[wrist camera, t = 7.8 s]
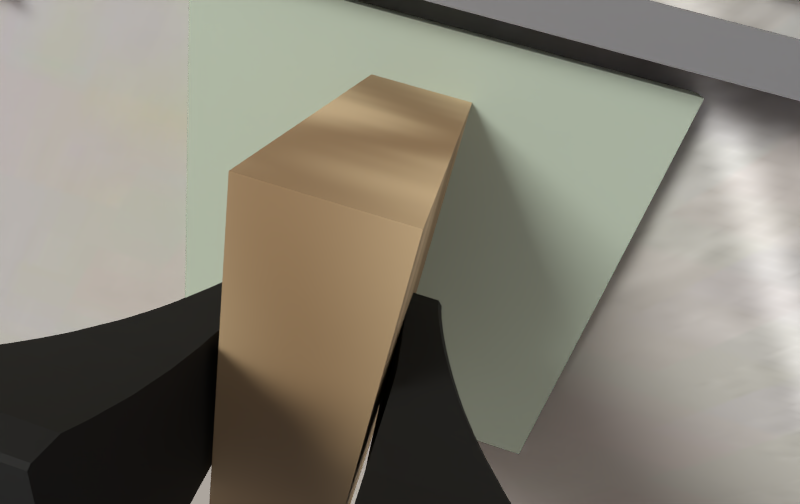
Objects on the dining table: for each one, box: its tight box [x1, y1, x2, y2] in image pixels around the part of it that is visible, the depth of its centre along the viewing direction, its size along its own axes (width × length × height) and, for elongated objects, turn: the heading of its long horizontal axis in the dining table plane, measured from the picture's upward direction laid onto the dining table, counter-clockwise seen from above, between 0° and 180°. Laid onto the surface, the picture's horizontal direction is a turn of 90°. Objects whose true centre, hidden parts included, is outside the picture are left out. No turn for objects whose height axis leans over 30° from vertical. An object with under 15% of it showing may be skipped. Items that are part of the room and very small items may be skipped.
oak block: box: [210, 74, 472, 504], centre depth 12 cm, size 2×9×7 cm, turn 167°
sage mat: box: [185, 0, 704, 454], centre depth 15 cm, size 12×12×1 cm
